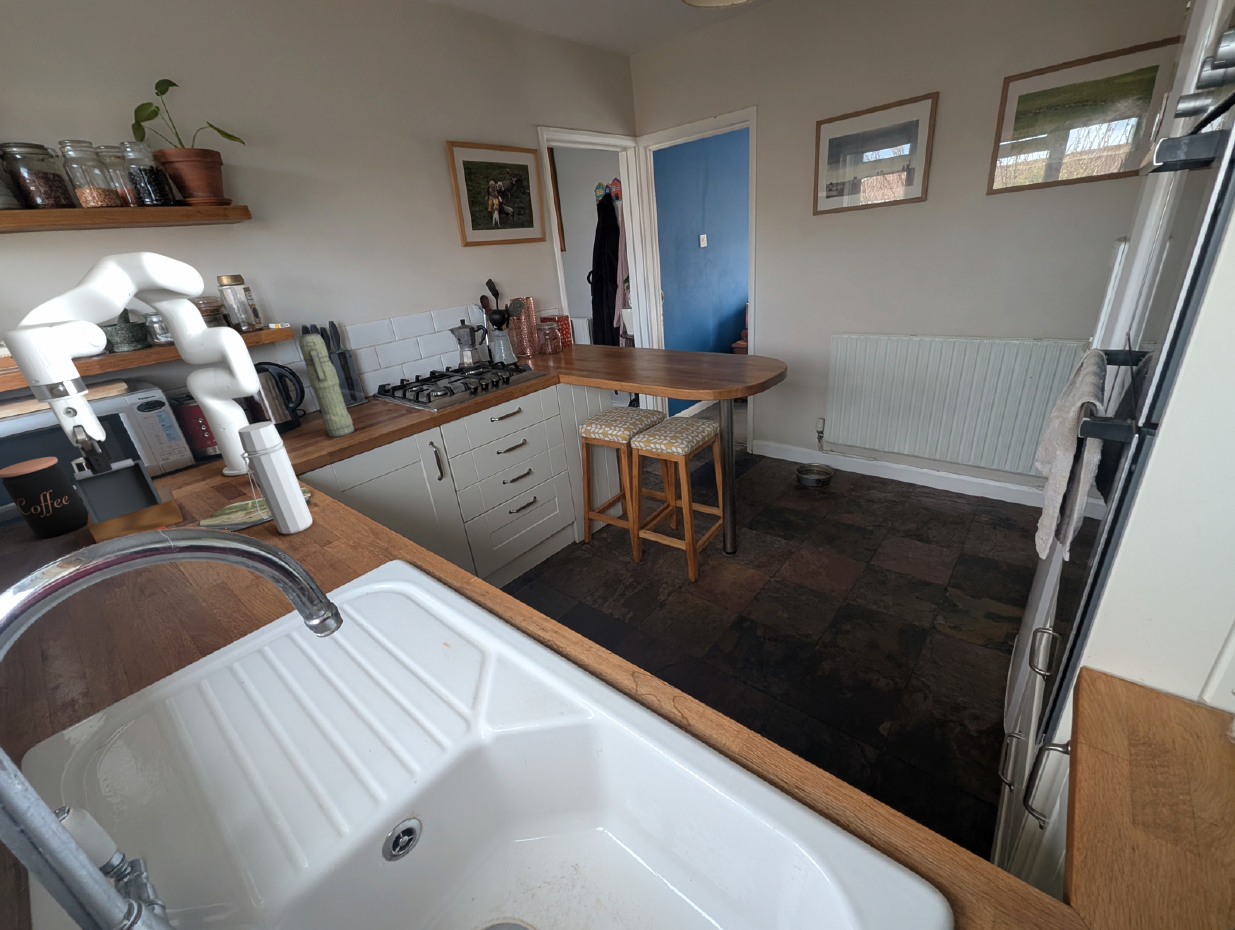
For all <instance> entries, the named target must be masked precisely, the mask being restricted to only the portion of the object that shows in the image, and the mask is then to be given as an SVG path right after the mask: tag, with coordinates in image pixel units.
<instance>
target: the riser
mask: <svg viewBox="0 0 1235 930" xmlns="http://www.w3.org/2000/svg"><path fill="white" fill-rule="evenodd" d="M156 490H157V492H158V494H159V496H160V498H161V500H162V502H163V503H161V504H157V505H154V506H151V507H148V508H144V509H141V510H138V511H135V512H131V513H128V514H125V515H122V516H119V517H115V518H112V519H109V520H106V521H102V522H100V523H97V524H94V522H93V520H92V518H91V516H90V514H89V512H88V523H87V524H86V525H87V528H88V530H89V532H90V534H91V535H92V537H93V539H94V541H95V542H96V543H97V542H100V541H104V540H107V539H111V538H112V537H119V536H121V535H124V534H132V533H135V532H141V531H147V530H152V529H155V528H158V527H161V526H164V525H165V527H166V528H167V527H169V526H172V525H175V524H178V523H180V522H183V521H184V518H183V515H182V512H181V509H180V507H179V504H178V502H177V500H176V498H175V496H174V494H173V492H172V490H171V488H170V486H169V485H165V486H161V487H158V488H156Z"/></svg>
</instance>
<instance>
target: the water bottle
mask: <svg viewBox="0 0 1235 930" xmlns="http://www.w3.org/2000/svg"><path fill="white" fill-rule="evenodd" d="M238 433H239V437H240V440H241V443H242V447H243V450H244V451H245V452H244V453H243V454H242V455H240V456H241V457H242V459H243V460H244V461H245V464H247V462H246V461H247V460H246V458H248V460H249V462H250V464H251V467H252V469H253V472H254V474H255V476H256V479H257V481H258V483H259V485H258V484H257V482H256V481H255V479H254V477H253V475H252V473H251V471H250V469H249V471H250V473H251V475H252V476H251V475H250V474H249V472H248V468H249V466H248V464H247V465H246V468H247V466H248V468H247V472H248V473H247V475H248V479H249V482H250V486H251V490H252V494H253V497H254V498H253V499H255V502H256V505H257V509H258V511H259V512H260V510H259V508H258V504H257V500H256V498H257V497H256V493H255V489H254V487H253V483H252V480H251V477H252V479H253V481H254V484H255V486H256V488H257V490H258V493H259V494H260V497H262V499H263V501H264V503H265V506H266V508H267V510H268V514H267V516H266V517H263V515H262V514H261V512H260V514H261V516H262V517H263V518H264V519H266V518H269V515H270V512H271V514H272V517H273V519H272V520H273V522H274V524H275V526H276V528H277V531H278V533H281V534H282V535H294V534H297V533H300V532H302V531H304V530H307V529H308V528H309V527H310V526H311V525H312V524H313V517H312V514H311V512H310V510H309V507H308V504H306V501H305V499H304V496H303V494H302V491H301V488H300V487H301V486H300V483H299V481H298V478H297V476H296V473H295V471H294V468H293V465H292V463H291V460H290V458H289V455H288V453H287V452H288V451H287V450H286V448H285V445H284V441H283V439H282V438H281V436H280V434H279V432H278V430H277V428H276V425H275V424H274V422H273V421H259V422H256V423H252V424H249V425H248V426H245V427H243V428H241V429H239V430H238ZM245 453H247V454H248V455H247V456H244V454H245ZM263 496H264V498H265V500H266V502H267V504H266V502H265V500H264V498H263ZM267 505H268V507H269V509H268V507H267ZM269 510H270V512H269Z"/></svg>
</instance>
